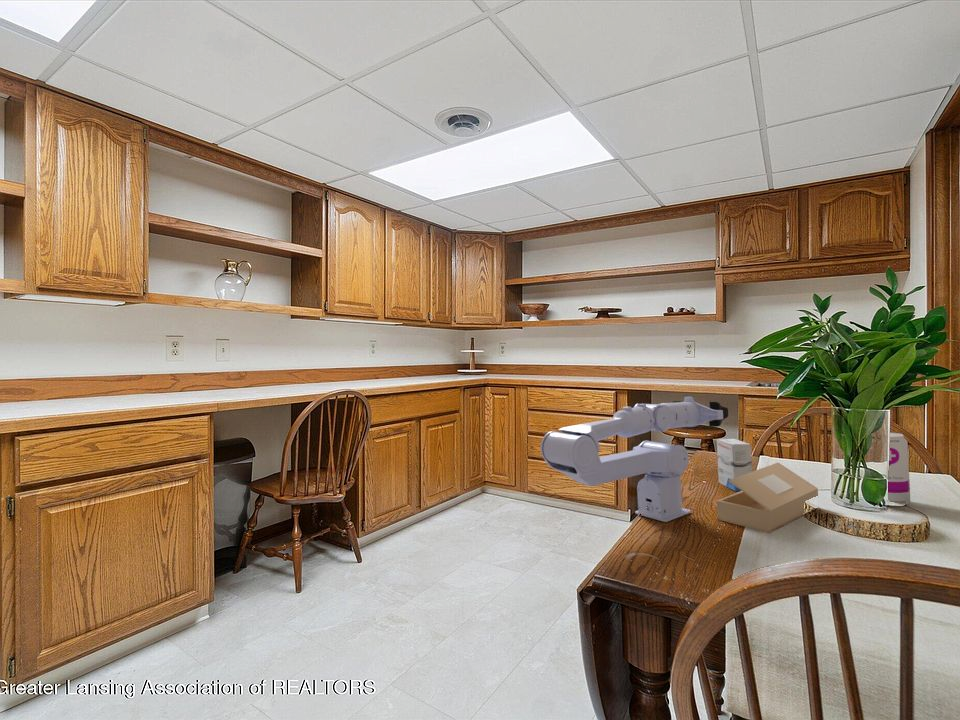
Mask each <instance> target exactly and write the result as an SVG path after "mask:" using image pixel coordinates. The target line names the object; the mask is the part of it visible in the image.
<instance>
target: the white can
mask: <svg viewBox="0 0 960 720" xmlns="http://www.w3.org/2000/svg"><path fill="white" fill-rule="evenodd" d="M889 432H890V456H889V481H888V500H889V501H890V502H895V503H899V504H907V505H908V504H910V503H911V487H910V486H911V485H910V484H911V483H910V465H909V447H908V445H909V444H908V443H909V442H908V440H907V439H906V438H905V436H904V434H902V433H897V432H891V431H889Z"/></svg>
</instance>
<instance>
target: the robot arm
mask: <svg viewBox="0 0 960 720" xmlns="http://www.w3.org/2000/svg"><path fill="white" fill-rule="evenodd" d="M728 417H729V408H728V407H726V406H722V405H721V403H720V402H718V401H709V407H708V406H706V405H703V404H700V403H699V402H696V401H695V400H694V397H693V396H685V397H684V398H683V401H681V400H674V401H672V402H663V403H662V402H661V403H658V404H657V403H656V404H654V403H652V404H651V403H638V402H637V403H636V404H635V405H634V406H633V407H632V406H627V405H626V406H622V408H621V410H618V411H616V412H615V413H614V414H613V416H612V418H608V419H603V420H596V421H591V422H586V423H579V424H575V425H574V424H573V425H569V426H568V425H567V426H563V427H561V428H558V429H557V430H558V431H557V430H551V431H548V432H547V433H545V434H544V436H543V437H542V439H541V442H540V448H539V449H540V454H541V457H542V459H543V460H544V461H545V464H547V466H548V467H549V468H552V469H553V470H555V471H557V472H560V473H561V474H563V475H565V476H566V477H567V478H569V479H571V480H573V481H574V482H577V483H578V484H581V485H585V486H588V487H594V486H598V485H599V486H600V485H602V484H606V483H610V482H615V481H618V480H624V479H628V478H632V477H635V476H639V475H643V474H645V475H644V476H643V478H641V479H640V480H639V481H638V483H637V486H636V494H637V510H635V511H634V513H635V514H636V515H639V516H643V517H646V518H649V519H652V520H657V521H659V522H660V521H661V522H662V523H663V522H664V523H668V522H670V521H672V520H676V519H678V518H680V517H683V516H685V515H689V514H691V512H692V510H691V509H689V508H685V507H684V508H683V499H682V497H683V496H682V477H681V476H682V475H684V472H685V471H686V470H687V468H688V466H689V461H690V458H689V457H690V456H689V453H688V450H687V449H686V447H685V446H683V445H682V444H672V443H671V444H670V443H664V442H663V443H662V442H657V441H652V440H648V439H647V440H643V441H642V442H640V444H638V445H637V446H633V447H632V450H628V451H623V452H618V453H613V454H608V455H603V456H600V455H599V452H600V443H599V442H600V441H603V440H605V439H608V438H611V437H614V436H618V437H620V438H623V439H628V438H631V437H634V436H638V435H642V434H645V433H646V434H647V433H648V432H651V431H654V432H662V433H665V432H667V431H668V430H669V429H676V428H677V429H678V428H686V427H687V428H694V427H697V426H700V425H702V424H705V423H708V425H709V427H715V428H717V427H720V426H721V425H722V422H723V421H724V420H726V419H727V418H728ZM559 431H560V432H559ZM646 507H647V508H646ZM645 508H646V509H645ZM644 510H645V511H644ZM643 511H644V512H643ZM642 512H643V513H642ZM641 513H642V514H641ZM640 514H641V515H640Z"/></svg>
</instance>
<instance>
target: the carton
mask: <svg viewBox="0 0 960 720" xmlns="http://www.w3.org/2000/svg"><path fill="white" fill-rule="evenodd" d="M816 496H818V497H819V490H818V489H817V490H815V491H813V492H811V493H809V494H807V495H805V496H803V497H801V498H798V499H796V500H794V501H792V502H790V503H788V504H786V505H784V506H781V507H779V508H777V509H775V510H773V511H771V512H770V511H768V510H767V509H766V508H764V507H763V506H762V505H760V504H759V503H758V502H756V501H755V500H754V499H752V498H751V497H750V496H748V495H747V494H745V493H744V492H743V491H736V492H735V493H733V494H730V495H728V496H726V497H722V498H720V499H717V500H716V511H717V512H716V513H717V515H716V516H717V521H721V522H722V521H723V522H726V523H731V524H733V525H737V526H742V527H745V528H749V529H752V530H753V529H754V530H756V531H757V530H758V531H761V532H765V533H769V534H771V533H773V532H775V531H777V530H778V529H781V528H782V527H784V526H786V525H788V524H790V523H792V522H794V521H796V520H798V519H800V518H803V511H804V503H805V501H806V500H809V499H811V498H813V497H816Z"/></svg>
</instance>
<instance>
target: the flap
mask: <svg viewBox="0 0 960 720" xmlns="http://www.w3.org/2000/svg"><path fill="white" fill-rule="evenodd" d="M729 482H731V483H732V484H733V485H735V486H736V487H737V488H739V489H740V490H741V491H743V492H744V493H745V494H747V495H748V496H750V497H751V498H752V499H754V500H755V501H756V502H758V503H759V504H760V505H762V506H763V507H764V508H766V509H767V510H768V511H770V512H771V511H773V510H775V509H777V508H779V507H781V506H784V505H786V504H788V503H790V502H792V501H794V500H796V499H798V498H801V497H803V496H805V495H807V494H809V493H811V492H813V491H815V490H817V489H818V487H817V486H815V485H814V484H812V483H810V482H809V481H808V480H807V479H804V478H803V477H802V476H800V475H798V474H797V473H795V472H793V471H792V470H791V469H789V468H788V467H786V466H785V465H783V464H782V463H781V462H776V463H773V464H769V465H768V466H764V467H762V468H759V469H756V470H754V471H753V470H752V472H750V473H747V474H744V475H742V476H739V477H736V478H733V479H730V480H729Z"/></svg>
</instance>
